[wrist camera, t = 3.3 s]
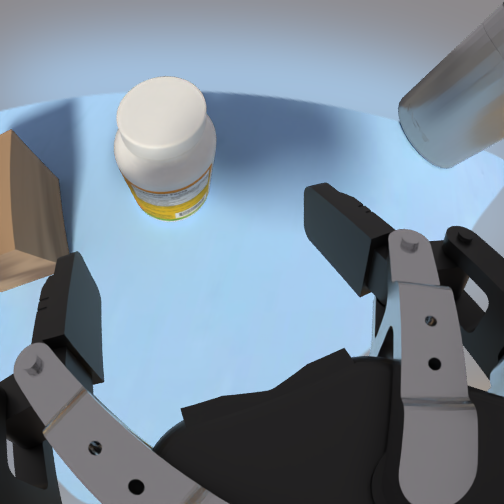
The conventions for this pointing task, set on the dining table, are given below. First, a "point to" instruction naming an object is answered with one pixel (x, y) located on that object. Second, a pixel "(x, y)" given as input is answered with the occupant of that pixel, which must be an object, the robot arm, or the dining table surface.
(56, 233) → the walnut block
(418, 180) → the dining table surface
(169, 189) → the supplement bottle
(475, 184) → the dining table surface
